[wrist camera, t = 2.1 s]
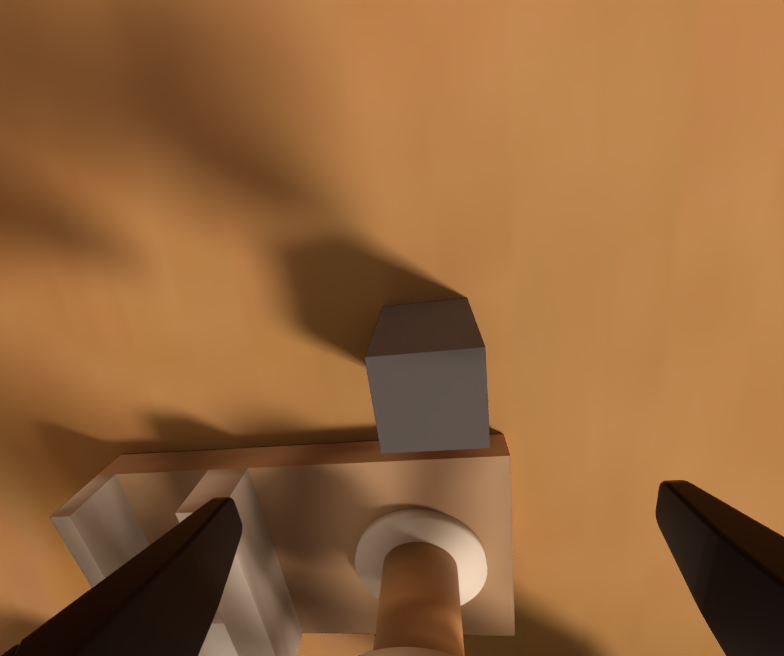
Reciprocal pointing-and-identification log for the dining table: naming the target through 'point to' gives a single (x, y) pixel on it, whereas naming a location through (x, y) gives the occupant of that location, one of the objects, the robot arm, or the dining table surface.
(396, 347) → the dark grey block
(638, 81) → the dining table surface
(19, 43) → the dining table surface
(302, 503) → the board with round knob
